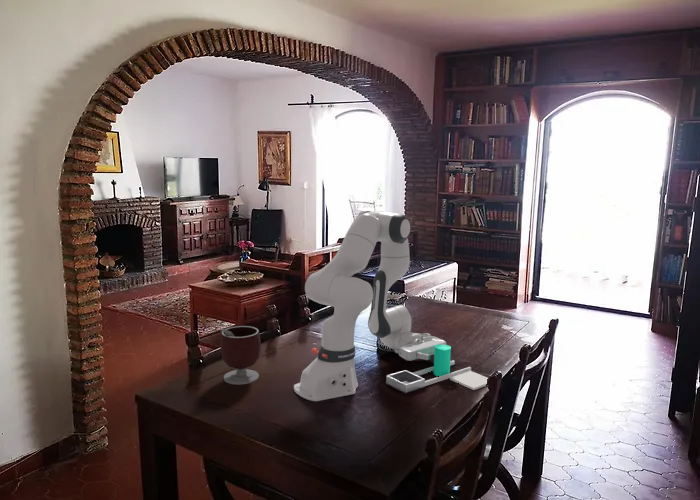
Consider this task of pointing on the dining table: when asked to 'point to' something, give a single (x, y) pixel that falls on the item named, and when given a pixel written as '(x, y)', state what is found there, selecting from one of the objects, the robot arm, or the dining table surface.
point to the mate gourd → (240, 353)
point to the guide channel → (443, 375)
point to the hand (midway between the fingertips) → (438, 355)
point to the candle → (442, 360)
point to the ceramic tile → (470, 380)
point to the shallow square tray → (405, 381)
